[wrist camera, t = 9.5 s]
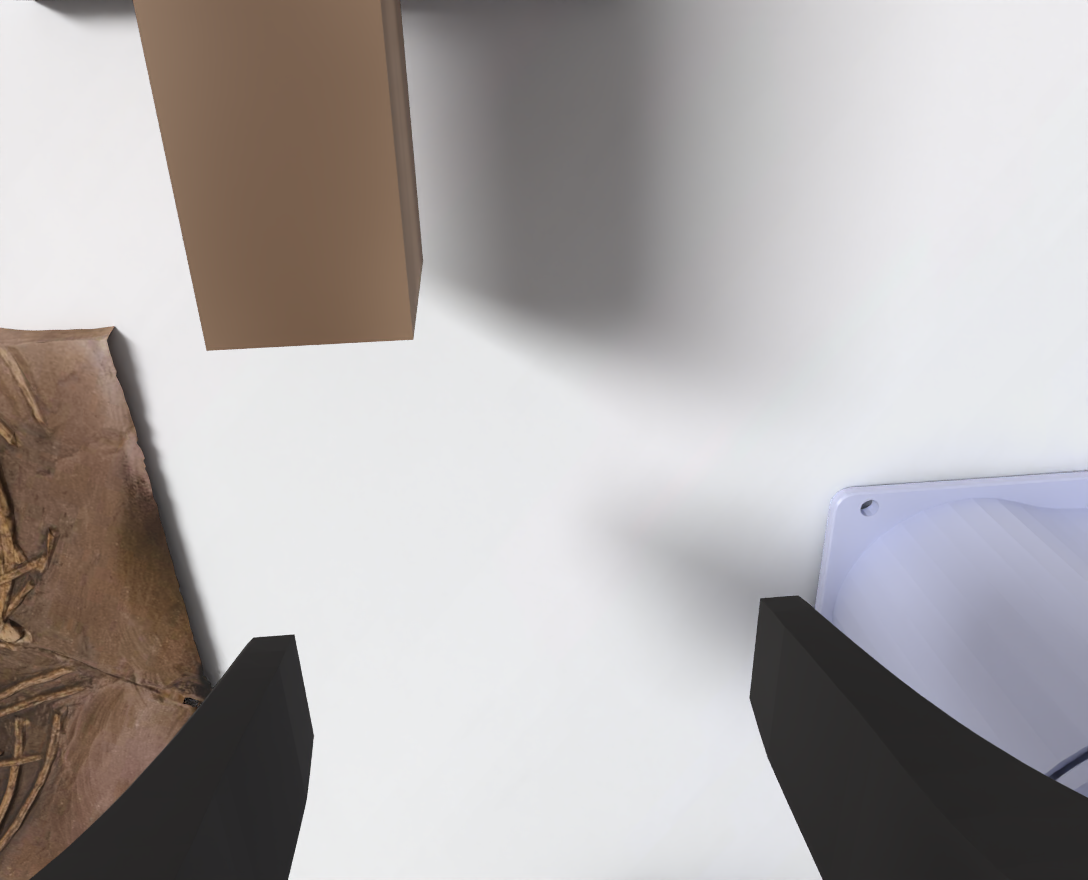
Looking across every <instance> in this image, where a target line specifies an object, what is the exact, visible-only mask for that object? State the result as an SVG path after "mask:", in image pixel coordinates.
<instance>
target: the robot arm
mask: <svg viewBox="0 0 1088 880" xmlns="http://www.w3.org/2000/svg"><path fill="white" fill-rule="evenodd" d="M869 500H873V501H872V503H871V505H870V506H869V507H867V508H864V509H860V508H861V506H862V504H863V503H865V502H866V501H869ZM750 701H751V705H752V708H753V711H754V715H755V718H756V722H757V725H758V728H759V732H760V735H761V738H762V741H763V744H764V747H765V750H766V754H767V757H768V759H769V762H770V764H771V766H772V768H773V771H774V773H775V775H776V778H777V780H778V782H779V784H780V786H781V789H782V791H783V793H784V795H785V798H786V800H787V802H788V804H789V807H790V809H791V811H792V813H793V815H794V818H795V820H796V822H797V824H798V826H799V829H800V831H801V833H802V835H803V837H804V840H805V842H806V844H807V846H808V848H809V850H810V853H811V855H812V857H813V859H814V861H815V864H816V866H817V868H818V870H819V872H820V875H821V877H822V879H823V880H1088V471H1082V472H1068V473H1053V474H1039V475H1024V476H1009V477H995V478H980V479H966V480H951V481H936V482H922V483H907V484H893V485H878V486H863V487H849V488H845V489H842V490H840V491H839V492H837V493H836V494H835V495H834V496H833V498H832V499H831V502H830V506H829V513H828V520H827V527H826V534H825V541H824V548H823V555H822V562H821V568H820V575H819V582H818V589H817V596H816V603H815V609H814V608H813V607H812V606H811V605H809V604H808V603H807V602H806V601H804V600H803V599H802V598H801V597H800V596H786V597H773V598H760V606H759V615H758V625H757V634H756V643H755V652H754V661H753V671H752V680H751V689H750ZM313 738H314V734H313V729H312V723H311V718H310V713H309V708H308V703H307V698H306V692H305V687H304V682H303V677H302V672H301V666H300V661H299V656H298V651H297V646H296V641H295V635H282V636H269V637H256V638H253V639H252V640H251V641H250V642H249V643H248V644H247V645H246V646H245V648H244V649H243V650H242V652H241V653H240V654H239V656H238V657H237V658H236V659H235V661H234V662H233V663H232V665H231V666H230V667H229V669H228V670H227V671H226V673H225V674H224V675H223V676H222V678H221V679H220V680H219V682H218V683H217V684H216V686H215V687H214V688H213V689H212V691H211V692H210V693H209V694H208V696H207V697H206V698H205V700H204V701H203V702H202V703H201V705H200V706H199V707H198V708H197V709H196V711H195V712H194V713H193V714H192V716H191V717H190V718H189V719H188V720H187V722H186V723H185V724H184V725H183V726H182V728H181V729H180V730H179V731H178V732H177V734H176V735H175V736H174V737H173V739H172V740H171V741H170V742H169V743H168V744H167V746H166V747H165V748H164V749H163V750H162V751H161V752H160V753H159V755H158V756H157V757H156V758H155V759H154V760H153V761H152V762H151V763H150V764H149V766H148V767H147V768H146V769H145V770H144V771H143V772H142V773H141V774H140V775H139V777H138V778H137V779H136V780H135V781H134V782H133V783H132V784H131V785H130V786H129V788H128V789H127V790H126V791H125V792H124V793H123V794H122V795H121V796H120V797H119V798H118V799H117V800H116V801H115V802H114V803H113V804H112V805H111V806H110V807H109V808H108V809H107V810H106V811H105V812H104V813H103V814H102V815H101V816H100V817H99V818H98V819H97V820H96V821H95V822H94V823H93V824H92V825H91V826H90V827H89V828H88V829H87V830H85V831H84V832H83V833H82V834H81V835H80V836H79V837H78V838H77V839H76V840H75V841H74V842H73V843H72V844H71V845H69V846H68V847H67V848H66V849H65V850H64V851H63V852H62V853H60V854H59V855H58V856H57V857H56V858H55V859H53V860H52V861H51V862H50V863H48V864H47V865H46V866H45V867H44V868H42V869H41V870H40V871H39V872H38V873H36V874H35V875H34V876H33V877H32V878H30V879H29V880H288V877H289V873H290V869H291V865H292V861H293V857H294V852H295V848H296V844H297V839H298V835H299V831H300V827H301V822H302V818H303V814H304V809H305V805H306V800H307V793H308V784H309V776H310V768H311V758H312V748H313Z"/></svg>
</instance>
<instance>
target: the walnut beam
mask: <svg viewBox="0 0 1088 880" xmlns="http://www.w3.org/2000/svg"><path fill="white" fill-rule="evenodd" d="M133 4H134V9H135V14H136V18H137V23H138V28H139V32H140V37H141V42H142V47H143V51H144V56H145V61H146V66H147V70H148V75H149V80H150V85H151V89H152V94H153V99H154V103H155V108H156V113H157V118H158V122H159V127H160V132H161V137H162V141H163V146H164V151H165V156H166V160H167V165H168V170H169V175H170V179H171V184H172V189H173V193H174V198H175V203H176V208H177V212H178V217H179V222H180V227H181V231H182V236H183V241H184V246H185V250H186V255H187V260H188V264H189V269H190V274H191V279H192V283H193V288H194V293H195V298H196V302H197V307H198V312H199V317H200V321H201V326H202V331H203V336H204V340H205V345H206V350H207V351H209V350H228V349H246V348H265V347H284V346H302V345H321V344H339V343H358V342H376V341H395V340H413V337H414V329H415V321H416V313H417V305H418V297H419V289H420V280H421V272H422V264H423V255H422V244H421V232H420V221H419V210H418V198H417V187H416V175H415V164H414V153H413V141H412V130H411V118H410V107H409V96H408V84H407V73H406V61H405V50H404V39H403V27H402V16H401V4H400V0H133Z"/></svg>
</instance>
